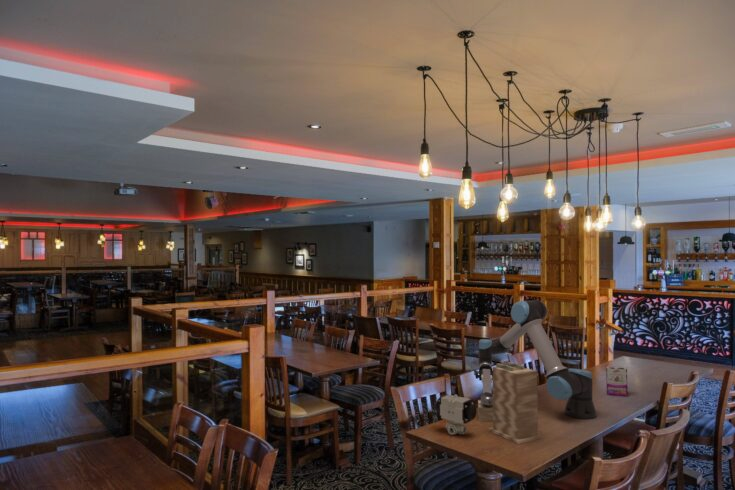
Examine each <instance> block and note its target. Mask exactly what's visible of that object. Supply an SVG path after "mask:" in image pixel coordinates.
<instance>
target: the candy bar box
mask: <svg viewBox="0 0 735 490" xmlns="http://www.w3.org/2000/svg"><path fill="white" fill-rule="evenodd" d="M605 379H606V380H605V381H606V386H605V387H606V395H608V396H617V397H628V396H629V395H628V393H629V391H628V388H629V387H628V368H627V367H626V366H617V365H615V366H614V365H606V366H605Z"/></svg>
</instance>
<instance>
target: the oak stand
mask: <svg viewBox="0 0 735 490" xmlns="http://www.w3.org/2000/svg"><path fill="white" fill-rule="evenodd" d="M492 370H493V380H492V394H493V422H492V424H493V425H492V427H488V431H489V432H491V433H493V434H494V435H497V436H499V437H502V438H504V439H506V440H509V441H511V442H513V443H515V444H518V445H519V444H524V443H527V442H532V441H536V440H540V439H544V438H543V434H541V433H539V430H538V429H539V423H538V422H539V421H538V420H539V417H538V414H539V413H538V411H539V409H538V401H539V400H538V371H537V370H536V369H535V370H534V369H531V368H527V367H524V365H522V364H518V363H513V362H512V361H511V362H510V361H506V364H502V363H496V364H495V366H493V367H492Z"/></svg>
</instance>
